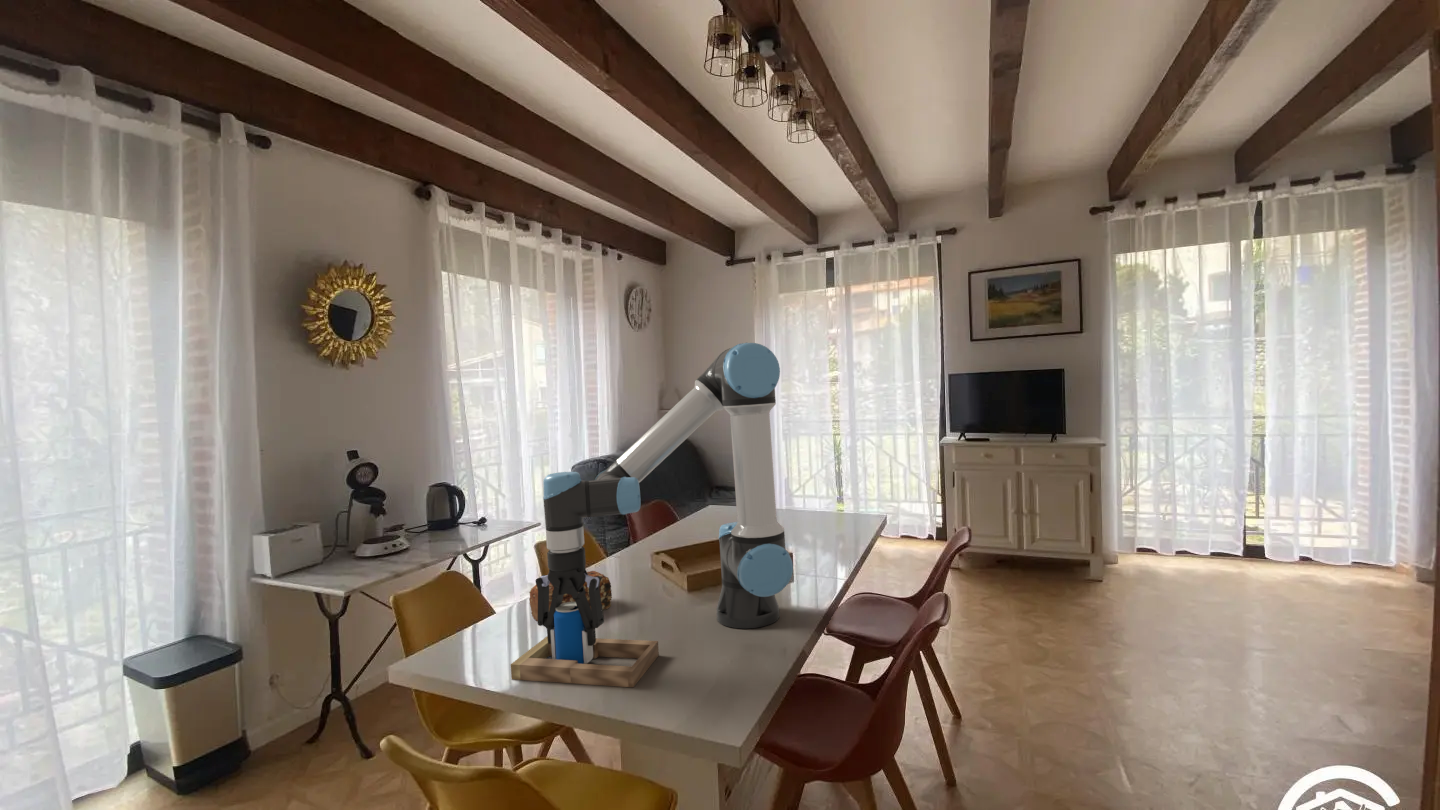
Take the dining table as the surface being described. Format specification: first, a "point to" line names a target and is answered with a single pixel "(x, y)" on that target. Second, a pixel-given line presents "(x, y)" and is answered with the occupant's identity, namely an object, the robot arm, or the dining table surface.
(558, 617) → the beverage can
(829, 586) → the dining table surface
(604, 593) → the bread
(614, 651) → the wooden rectangular frame
